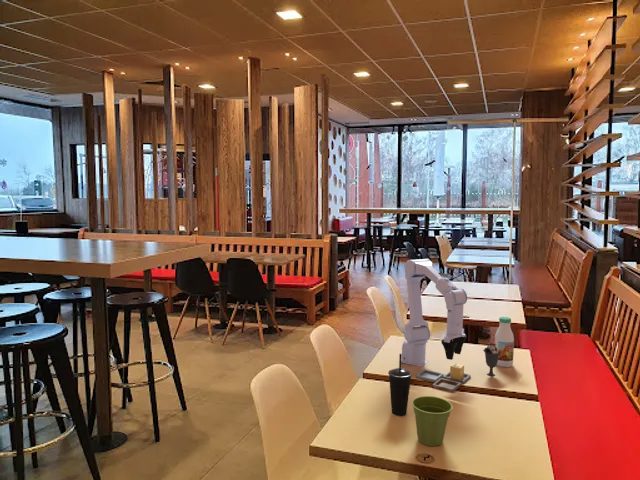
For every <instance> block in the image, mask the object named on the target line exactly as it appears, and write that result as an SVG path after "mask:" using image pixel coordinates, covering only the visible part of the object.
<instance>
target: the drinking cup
mask: <svg viewBox="0 0 640 480" xmlns="http://www.w3.org/2000/svg"><path fill="white" fill-rule="evenodd" d="M401 361H402V353H399V360H398V362H399V363H398V368H392V369H389V371H388V373H387V374H388V377H389V378H388V379H389V391H390V392H389V393H390V406H391V414H392V415H394V416H396V417H403V416H406V415H407V413H408V404H409V395H410V388H411V378H412V376H413V373H412V372H411V371H410V370H408V369H406V368H402V363H401Z"/></svg>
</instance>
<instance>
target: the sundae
mask: <svg viewBox="0 0 640 480" xmlns="http://www.w3.org/2000/svg"><path fill="white" fill-rule="evenodd" d="M494 342H495V337H493V340H492V342H490V343H489V344H488V345H487V346H486V347H485V348H484V349H483V350H482V351H483V352H484V356H485V364H486V365H487V366H488V368H489V371H488V373H486V376H488V377H496V374H494V372H493V371H494V368H495V367H496V366H497V362H498V357H499V354H501V351H499V350H498V348H497V347H496V344H494Z"/></svg>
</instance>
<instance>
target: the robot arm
mask: <svg viewBox="0 0 640 480" xmlns="http://www.w3.org/2000/svg"><path fill="white" fill-rule="evenodd" d="M404 275H405V276H404V277H405V280H406V287H407V288H406V289H407V297H408V298H407V300H408V310H409V320H408V321H407V322H406V323H405V324H404V331H403V332H404V333H403V336H404V339H405V340H404V341H403V342H402V346H401V354H402V357H401V364H402V363H403V364H407V365H411V366H417V367H423V366H425V365H426V364H427V363H430V361H429V360H426V354H427V353H426V349H427V348H426V346H427V343H428V341H429V339H430V338H431V329H430V327H429V323H428V322H427V321H426V320H425V319H424V317H423V307H422V306H423V305H422V304H423V303H422V295H421V281H422V279H423V278H425V277H427V278H428V279H429V280H430V281H432V282H433V283H434V284H435V289H436V290H437V291H438V292H439V293H440V294H441V295H442V296H443V298H444V301H445V302H444V303H445V307H446V310H447V311H446V313H447V314H446V315H447V317H446V332H445V336H444V337H443V338H442V339H441V341H440V342H441V345H442V347H443V349H444V352H445V358H446V360H450V361H452V360H453V359H454V355H455V354H457V355H461V352H462V350H463V346H464V343H465V341H466V339H467V338H468V337H467V335H466V333H465V328H463V324H464V323H463V322H464V305H466V303H467V301H468V295H467V292H466V290H464V289H463V288H459V287H457V286H456V285H455V284H453V282H452V281H450V279H449V278H448V277H442V276H441V275H440V273H439V272H438V270H437V269H435V267H434V263H433V262H432V261H431V260H430V259H429V258H422V259H421V258H419V259H408V260H407V261H406V262H405V264H404Z"/></svg>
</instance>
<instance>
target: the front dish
mask: <svg viewBox="0 0 640 480" xmlns="http://www.w3.org/2000/svg"><path fill="white" fill-rule="evenodd" d="M431 386H432V387H431V388H434V389H438V390H442V391H445V392H450V393H454V392H455V391H457V390H458V389H459V388H460V387H462V384H461V383H460V382H456V381H451V380H447V379H443V377H442V378H440V379H439V380H438V381H436V382H433V383H432V385H431Z"/></svg>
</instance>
